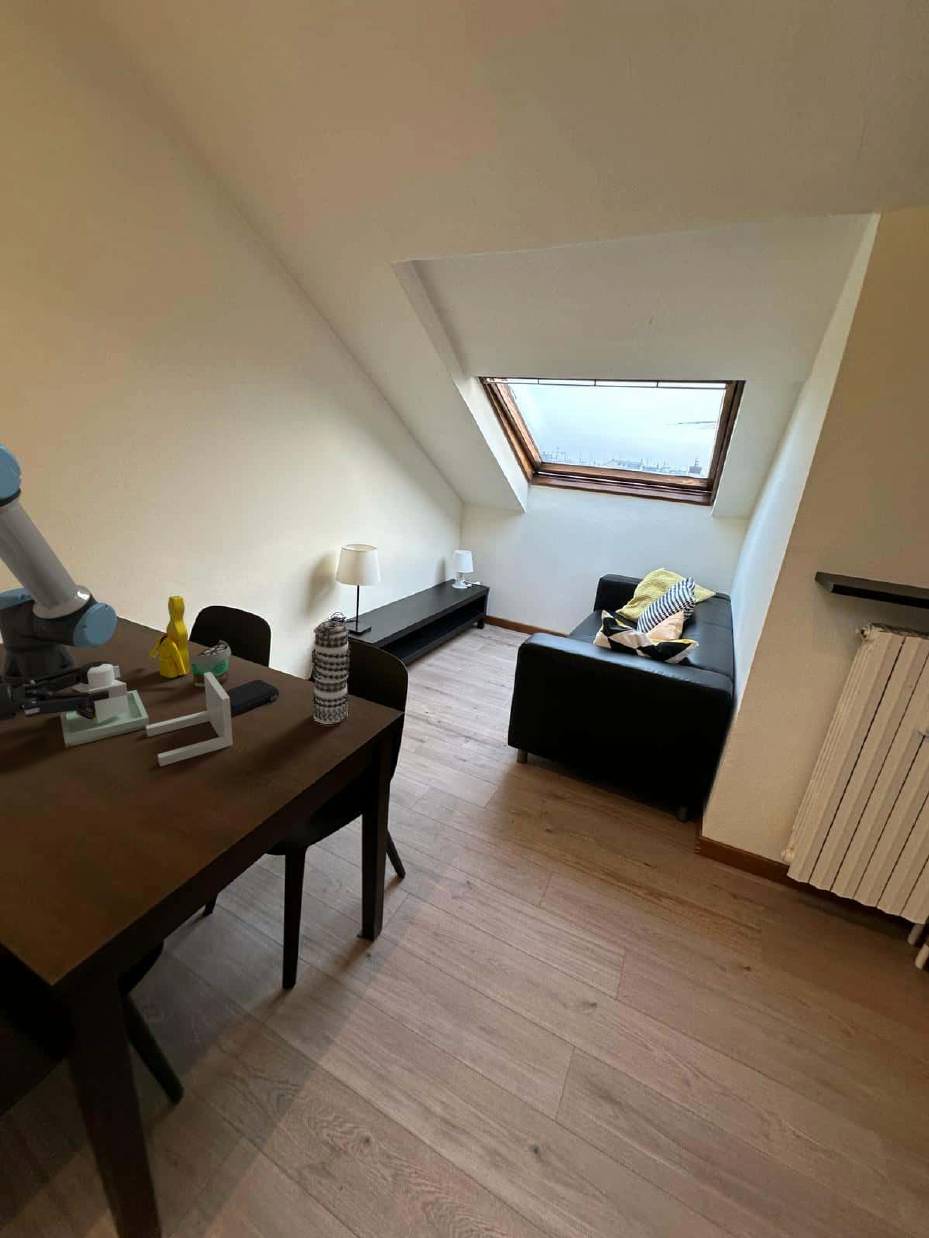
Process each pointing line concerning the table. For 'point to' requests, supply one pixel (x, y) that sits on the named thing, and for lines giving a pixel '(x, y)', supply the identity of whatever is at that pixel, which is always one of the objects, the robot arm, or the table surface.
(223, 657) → the food container
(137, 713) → the tray
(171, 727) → the bay
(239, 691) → the carrying case or bag
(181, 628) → the figure statuette
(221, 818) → the table surface
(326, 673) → the decorative candle
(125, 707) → the medicine bottle
